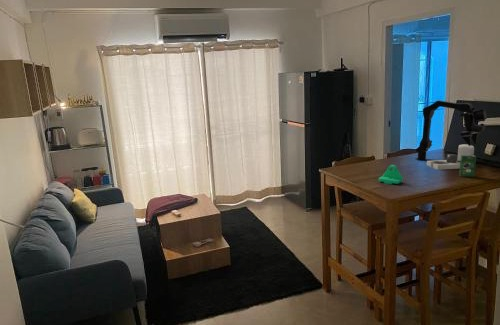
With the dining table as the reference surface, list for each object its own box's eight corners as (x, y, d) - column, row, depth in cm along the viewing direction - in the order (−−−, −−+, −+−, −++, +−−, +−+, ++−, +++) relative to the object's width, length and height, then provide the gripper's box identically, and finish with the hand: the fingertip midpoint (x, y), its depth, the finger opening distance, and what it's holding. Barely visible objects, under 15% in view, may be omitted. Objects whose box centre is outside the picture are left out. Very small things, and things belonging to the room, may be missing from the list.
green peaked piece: (377, 182, 225) (378, 166, 223) (382, 179, 231) (383, 163, 229) (397, 185, 218) (398, 168, 215) (402, 182, 223) (403, 165, 221)
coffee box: (473, 175, 231) (475, 155, 228) (474, 177, 228) (476, 156, 225) (458, 175, 232) (460, 155, 230) (460, 176, 230) (462, 156, 227)
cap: (444, 161, 258) (445, 154, 257) (453, 160, 258) (453, 153, 257) (449, 163, 252) (450, 156, 251) (458, 162, 252) (458, 155, 251)
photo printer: (456, 160, 271) (457, 144, 268) (458, 159, 273) (460, 143, 271) (471, 162, 263) (473, 145, 260) (474, 161, 265) (475, 144, 263)
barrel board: (426, 165, 262) (426, 160, 261) (451, 163, 263) (451, 159, 262) (437, 169, 248) (437, 165, 248) (463, 168, 249) (464, 164, 248)
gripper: (476, 121, 238) (480, 145, 238) (487, 118, 249) (491, 141, 250) (458, 124, 247) (461, 147, 247) (469, 121, 258) (473, 143, 259)
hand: (472, 144), depth 251 cm, fingers open, 9 cm apart
